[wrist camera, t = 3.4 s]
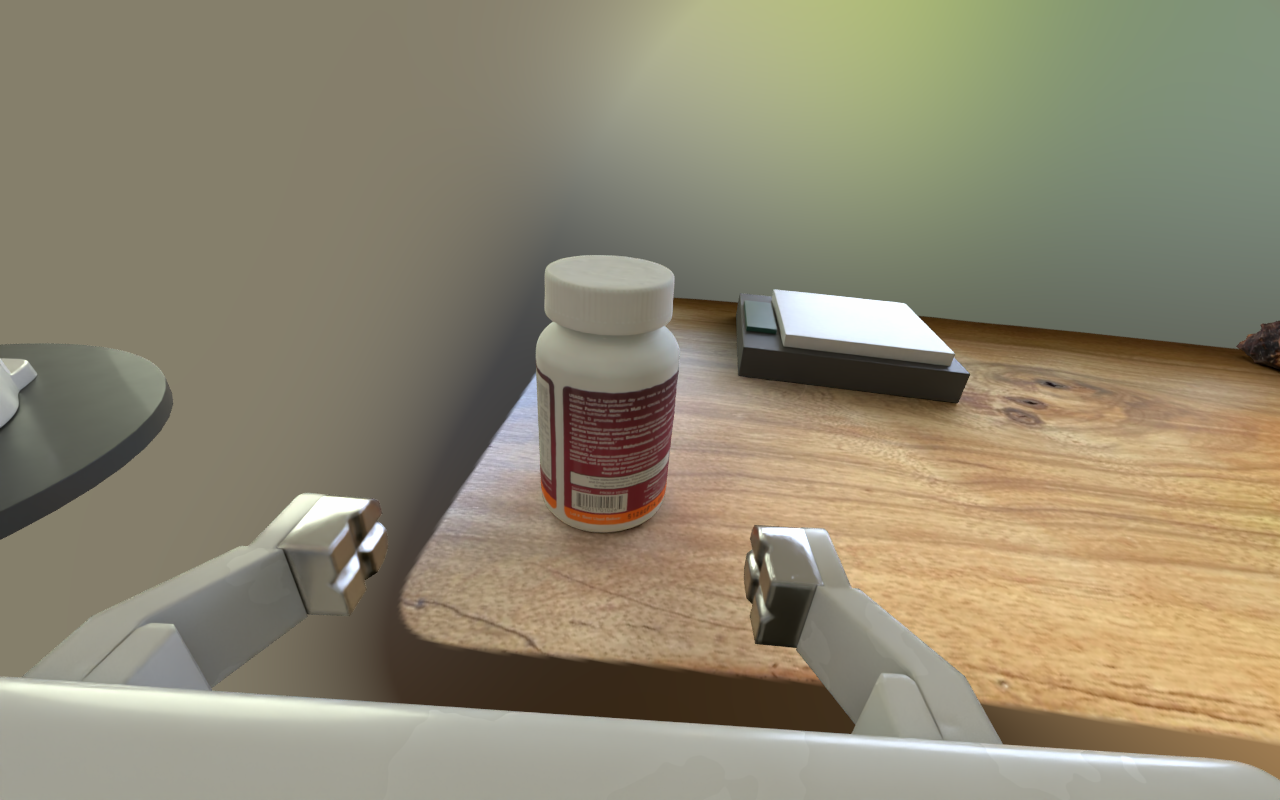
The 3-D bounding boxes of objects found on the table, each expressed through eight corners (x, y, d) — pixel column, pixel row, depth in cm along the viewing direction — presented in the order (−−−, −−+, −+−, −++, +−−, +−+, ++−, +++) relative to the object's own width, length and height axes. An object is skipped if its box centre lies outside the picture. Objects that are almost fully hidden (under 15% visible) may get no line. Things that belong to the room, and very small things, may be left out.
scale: (738, 375, 39) (745, 334, 37) (735, 316, 51) (741, 282, 49) (958, 403, 37) (976, 361, 35) (901, 335, 49) (912, 301, 48)
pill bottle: (688, 494, 26) (720, 275, 20) (604, 560, 22) (616, 305, 16) (601, 445, 29) (609, 245, 24) (514, 494, 25) (499, 264, 20)
